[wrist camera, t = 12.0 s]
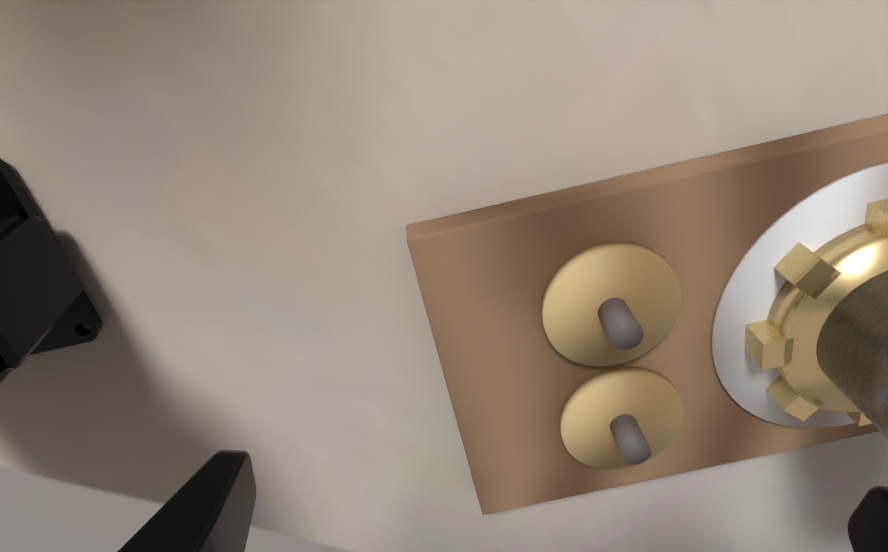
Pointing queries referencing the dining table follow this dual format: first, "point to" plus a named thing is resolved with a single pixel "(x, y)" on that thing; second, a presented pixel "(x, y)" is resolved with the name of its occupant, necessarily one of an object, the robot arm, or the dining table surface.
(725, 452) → the gear board
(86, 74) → the dining table surface
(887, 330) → the loose gear
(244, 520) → the robot arm
